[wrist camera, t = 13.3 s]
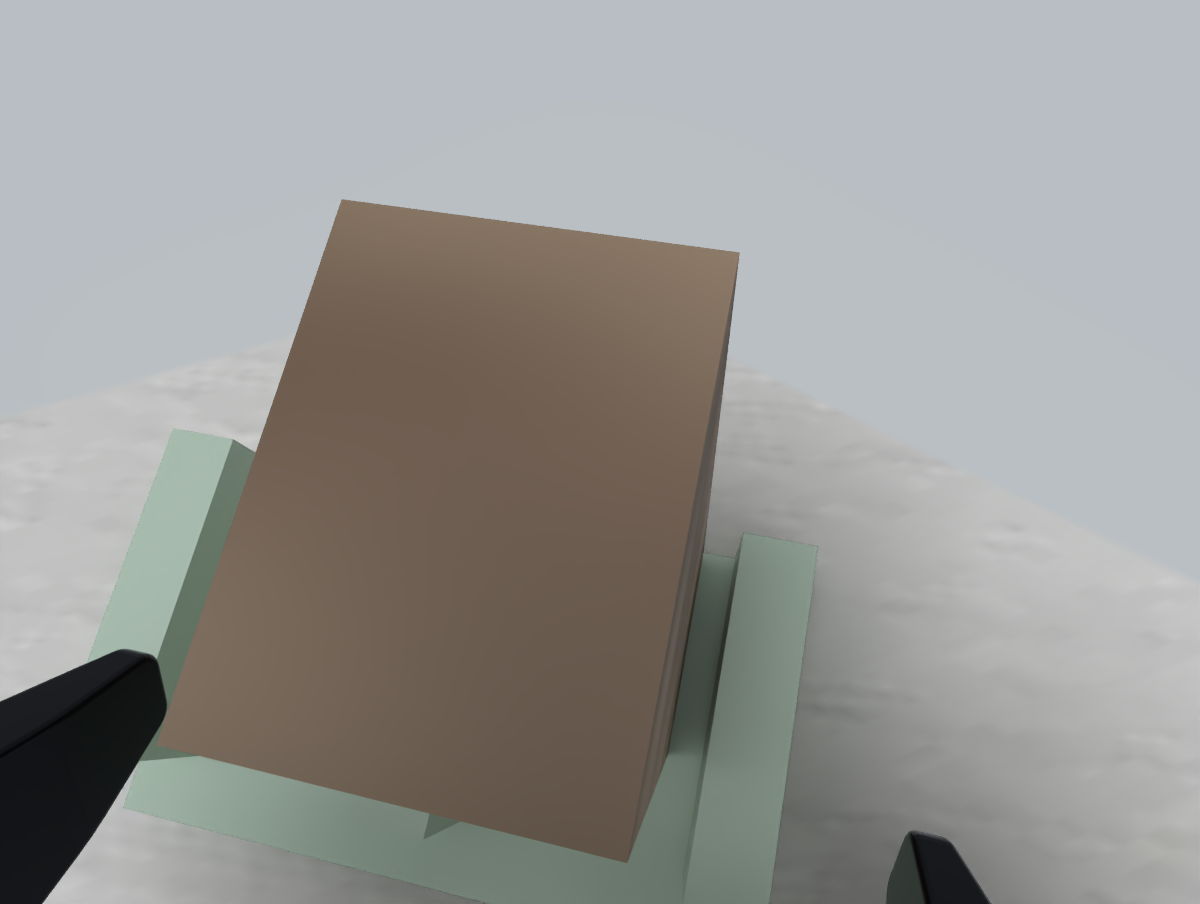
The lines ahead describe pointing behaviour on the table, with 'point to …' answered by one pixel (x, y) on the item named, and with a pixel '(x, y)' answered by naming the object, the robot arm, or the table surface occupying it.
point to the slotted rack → (461, 850)
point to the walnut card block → (473, 527)
